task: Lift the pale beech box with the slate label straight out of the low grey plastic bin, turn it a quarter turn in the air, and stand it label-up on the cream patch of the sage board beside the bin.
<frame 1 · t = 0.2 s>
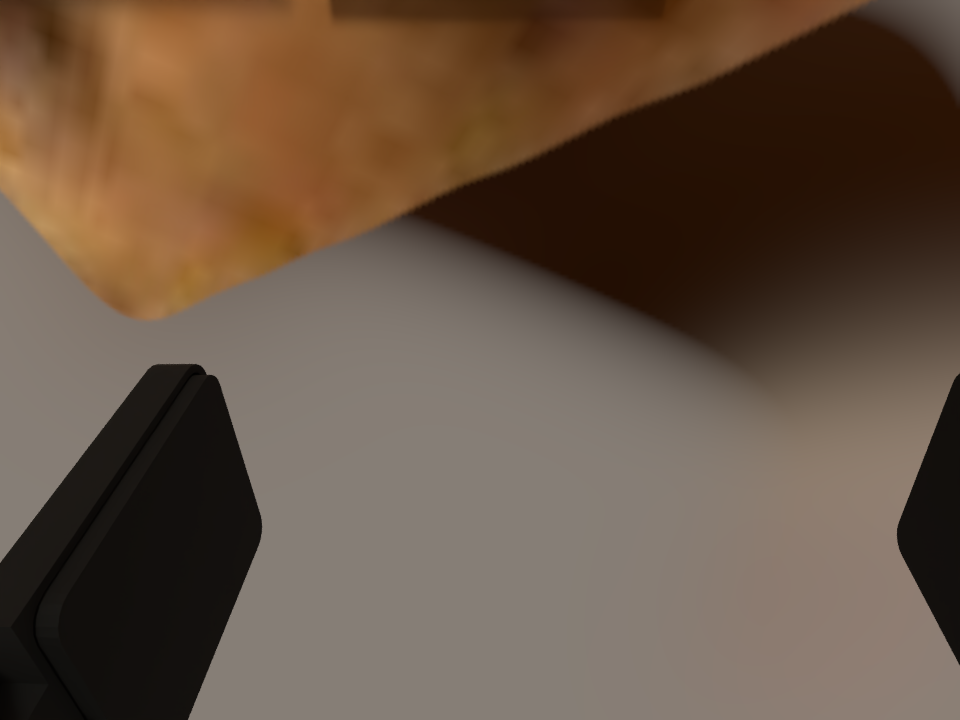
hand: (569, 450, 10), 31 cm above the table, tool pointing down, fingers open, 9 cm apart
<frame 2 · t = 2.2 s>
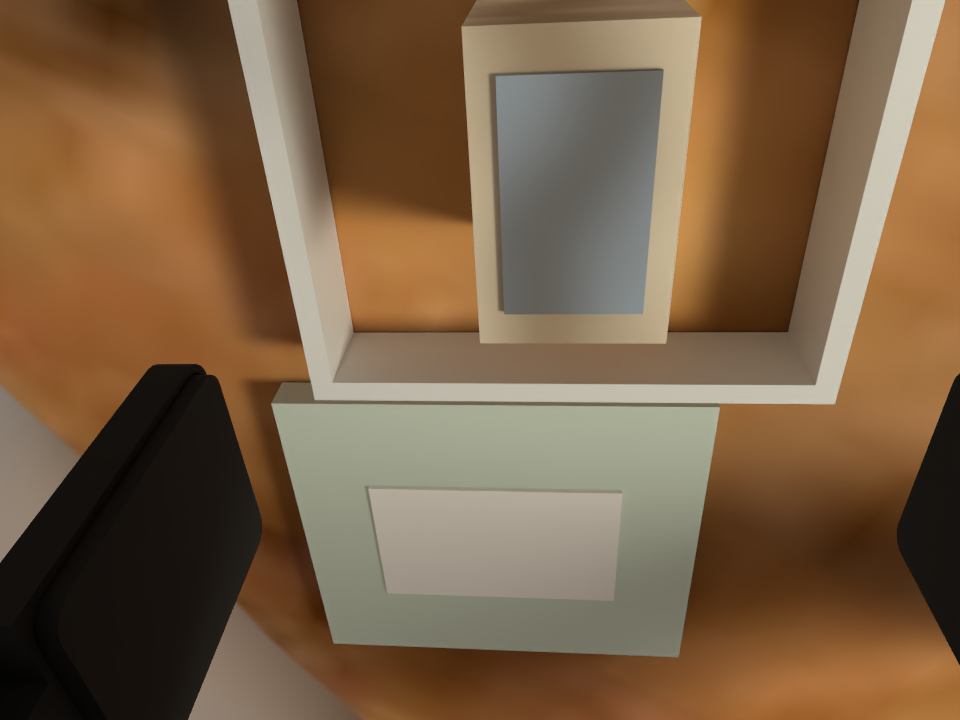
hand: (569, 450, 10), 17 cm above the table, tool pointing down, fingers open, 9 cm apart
sage board: (498, 519, 35), on the table
beech box: (571, 150, 21), in the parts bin
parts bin: (568, 112, 24), on the table
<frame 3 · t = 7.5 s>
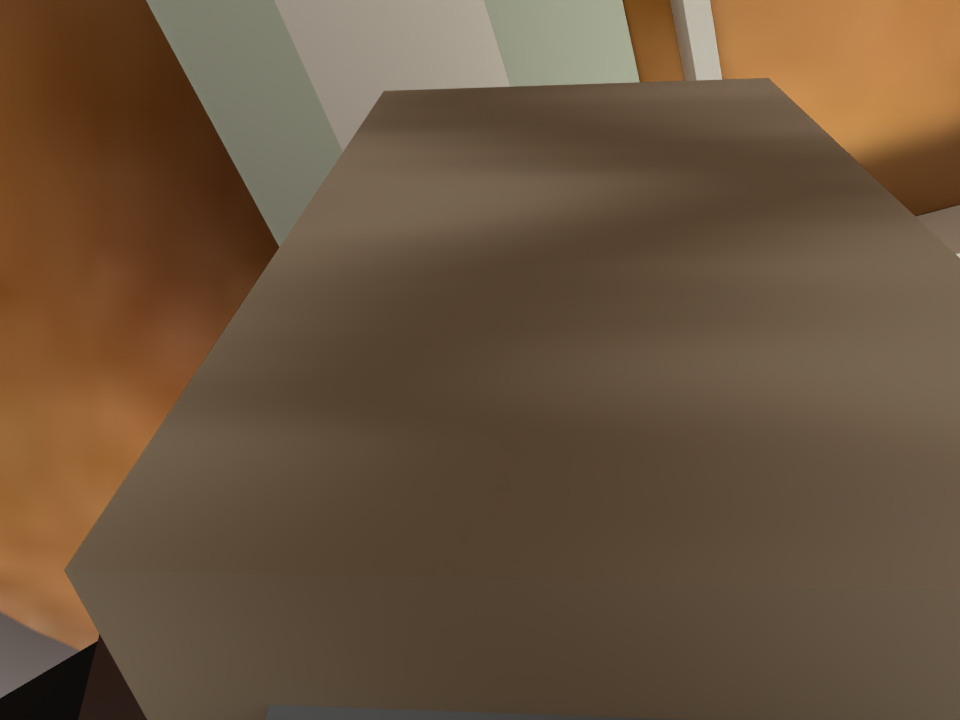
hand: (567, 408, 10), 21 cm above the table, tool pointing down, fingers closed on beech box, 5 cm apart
sage board: (419, 81, 29), on the table
beech box: (577, 532, 8), point 24 cm above the table, touching gripper
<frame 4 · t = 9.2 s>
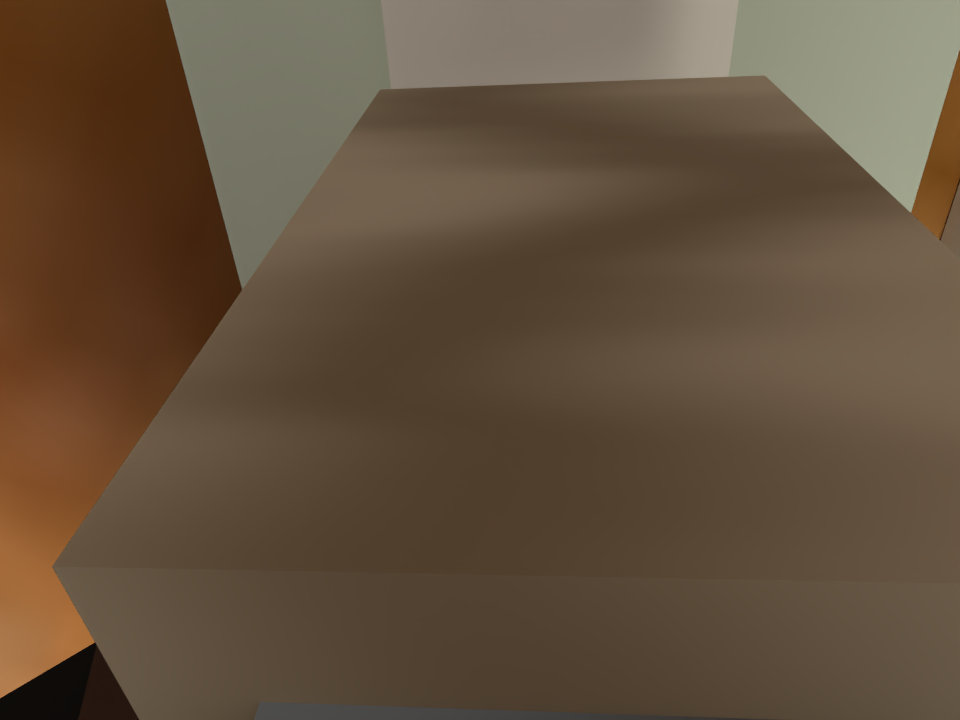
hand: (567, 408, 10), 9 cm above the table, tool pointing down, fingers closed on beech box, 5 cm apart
sage board: (554, 177, 18), on the table
beech box: (574, 530, 8), point 12 cm above the table, touching gripper
when the fingers open (5 cm above the table, at t = 10.6 s): beech box drops 1 cm, resting on sage board.
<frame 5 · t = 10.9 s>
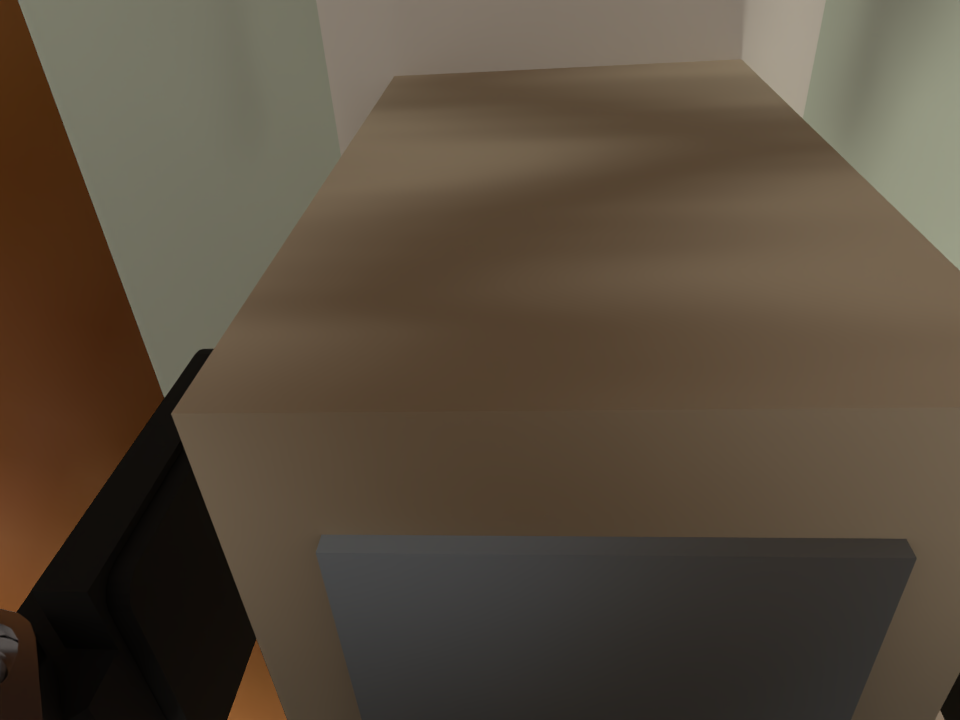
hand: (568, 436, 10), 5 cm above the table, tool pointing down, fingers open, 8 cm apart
sage board: (559, 262, 14), on the table
beech box: (572, 465, 9), on the sage board, point 6 cm above the table
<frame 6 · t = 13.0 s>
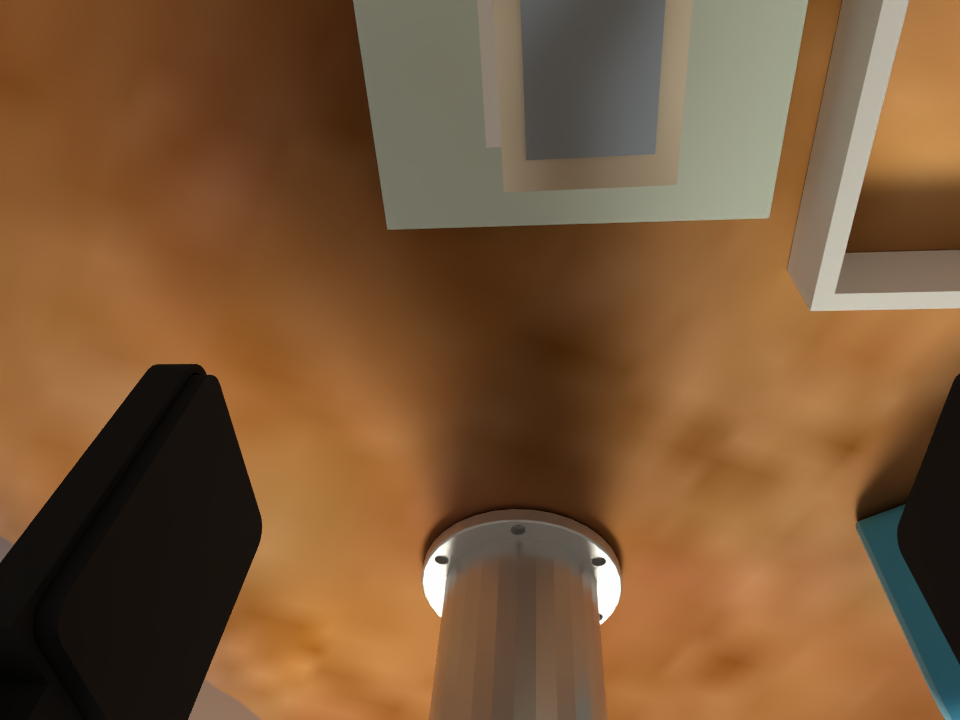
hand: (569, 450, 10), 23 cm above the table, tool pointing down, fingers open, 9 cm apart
beech box: (583, 13, 22), on the sage board, point 6 cm above the table
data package: (920, 553, 44), on the table
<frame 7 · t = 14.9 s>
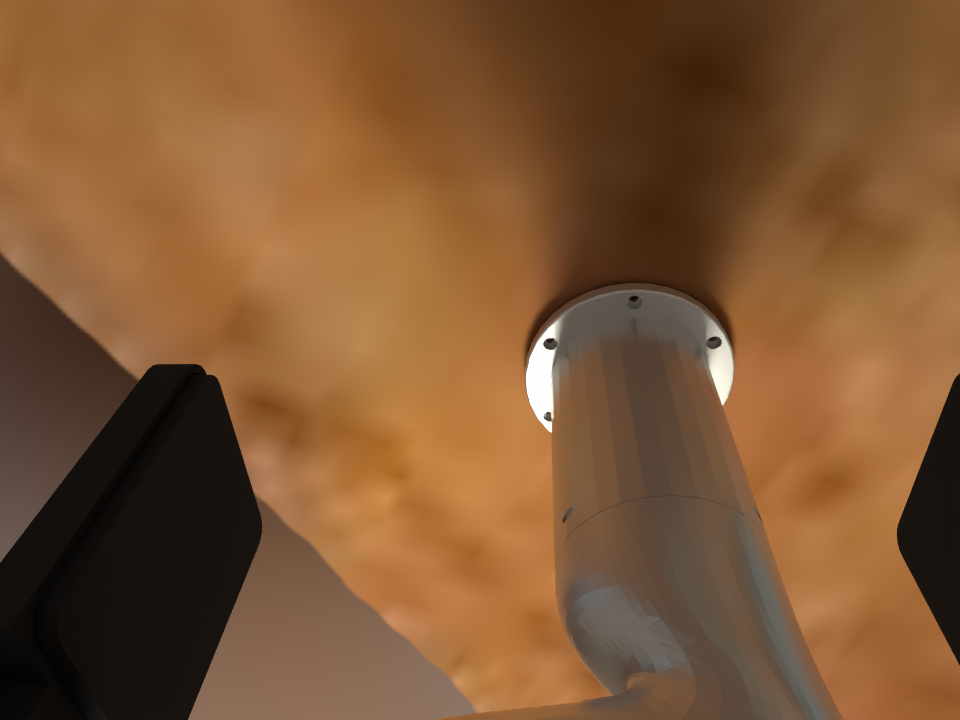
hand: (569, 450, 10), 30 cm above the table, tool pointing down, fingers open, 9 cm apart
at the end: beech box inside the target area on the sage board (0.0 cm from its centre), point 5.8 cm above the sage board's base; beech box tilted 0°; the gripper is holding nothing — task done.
